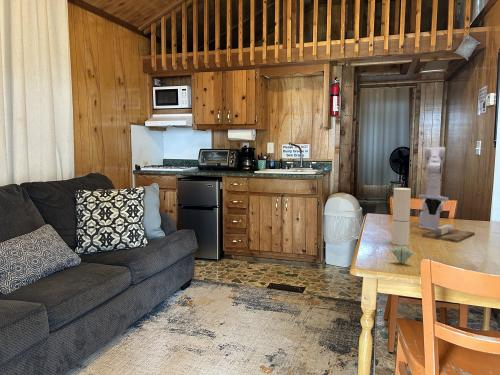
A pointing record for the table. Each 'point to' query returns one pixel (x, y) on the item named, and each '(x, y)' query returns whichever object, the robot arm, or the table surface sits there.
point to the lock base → (450, 235)
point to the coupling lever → (443, 229)
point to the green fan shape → (402, 254)
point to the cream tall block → (401, 216)
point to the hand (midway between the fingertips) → (432, 214)
